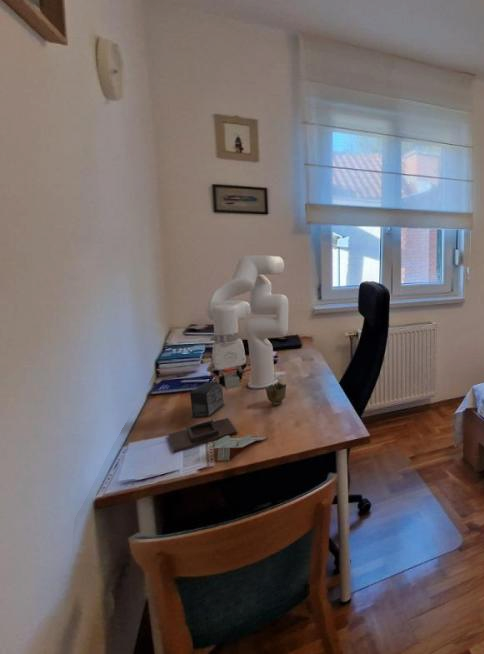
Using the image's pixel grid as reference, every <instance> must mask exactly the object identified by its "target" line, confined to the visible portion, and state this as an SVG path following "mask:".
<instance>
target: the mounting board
mask: <svg viewBox="0 0 484 654" xmlns="http://www.w3.org/2000/svg"><path fill="white" fill-rule="evenodd" d="M237 434H238V432H237V430H236V428H235V427H234V425H233V423H232V422H231V421H230V419H229V418H228V417H226V418H221V419H219V420H218V419H217V420H216V421H214V420H213V419H212V420H208V421H204V422H201V423H197V424H194V425H190V426H187V427H186V428H185V429H183V430H179V431H174V432H172V433H168V439H169V443H170V445H171V448H172V453H174V454H175V453H178V452H181V451H185V450H188V449H192V448H196V447H198V446H200V445H201V446H202V445H205V444H208V443H211V442H212V443H213V442H214V441H217V440H219V439H221V438H223V437H225V436H230V437H231V436H235V435H237Z"/></svg>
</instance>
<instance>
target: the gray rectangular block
mask: <svg viewBox="0 0 484 654" xmlns="http://www.w3.org/2000/svg"><path fill="white" fill-rule="evenodd" d="M223 375H224V378H225V379H224V380H225V386H223V387H224V389H225V390H226V391H227V390H230V389H234V388H240V387H241V383H240V380H239V377H238V376H237V374H236V372H231V373H226V374H223Z"/></svg>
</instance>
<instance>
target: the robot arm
mask: <svg viewBox="0 0 484 654" xmlns="http://www.w3.org/2000/svg"><path fill="white" fill-rule="evenodd" d="M284 270H285V261H284V259H283V258H282V256H279V255H267V254H266V255H263V254H262V255H245V256H241V258H239V259H238V262H237V264H236V267H235V270H234V273H233V275H232V277H231V280H229V281H227V282H225V283H223V284H222V285H221V286H219V287H218V288H217V289H216V290H214V291H213V293H212V294H211V296H210V298H209V301H208V304H207V306H206V314H207V315H206V316H207V317H208V318H209V319H210V320H212V321H213V331H214V334H213V336H210V337H209V339H210V340H209V341H214V342H213V343H212V350H211V351H212V354H211V357H212V358H211V362H210V363H209V365H208V366H207V367H206V371H207V372H208V373H212V374H214V375H216V376H218V382H219V384H221V385H222V387H224V386H225V380H224V379H225V378H224V375H225V374H224V371H225V370H227V369H231V368H232V369H233V368H236V371H235V373H236V374H237V376H238V377H239V380H240V384H241V383H242V380H243V372H244V370H245V369H246V367H247V366H249V368H250V370H249V371H250V381H248V382H247V387H248V388H249V389H255V390H256V389H266V388H267V386H268V387H269V385H270V386H271V384H272V385H273V386H274V384H276V385H277V384H278V383H279V381H280V380H279V378H280V377H285V376H286V375H287V373H286V371H277V372H276V371H275V363H274V349H273V344H272V343H271V341H270V340H269V339H276V338H277V339H279V338H284V337H286V336H287V334H288V333H289V315H290V314H289V310H290V308H289V307H290V306H289V305H290V304H289V299H288V297H287V296H286V295H285V294H282V293H272V283H271V281H270V280H269V279H268V278H267V277H266V275H267V276H268V275H271V276H272V275H274V276H275V275H281V274H282V273H283V272H284ZM249 292H250V293H249ZM246 293H249V302H247V301H245V300H229V299H231V298H235V297H238V296H240V295H243V294H246ZM250 314H253V315H256V316H259V315H260V316H264V315H265V316H266V317H254V318H253V317H252V318H250V319H248V320H247V321H245V324H244V332H245V336H246V339H247V345H248V352H249V353H248V355H249V356H248V357H249V358H248V357H247V355H246V352H245V346H244V343H243V339H242V338H240V335H239V323H238V321H241V320H245V319H247V318H248V317H249V316H250ZM268 315H269V316H270V315H274V316H273V317H269V316H268ZM275 315H276V316H275ZM267 316H268V317H267Z"/></svg>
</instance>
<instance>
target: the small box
mask: <svg viewBox="0 0 484 654" xmlns="http://www.w3.org/2000/svg"><path fill="white" fill-rule="evenodd" d="M223 395H224V394H223V386H222V385H221V384H219V381H205V382H204V383H203V384H201V385H199V386H198V387H196V388H195V389H194V390H192V391H190V392H189V396H190V404H191V412H192V413H191V414H192V417H193V418H209V417H211V416H212V415H213V414H215V412H217V411H218V410H219V409H221V408H222V407H223V406H224V405H225V403H224V396H223Z"/></svg>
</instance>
